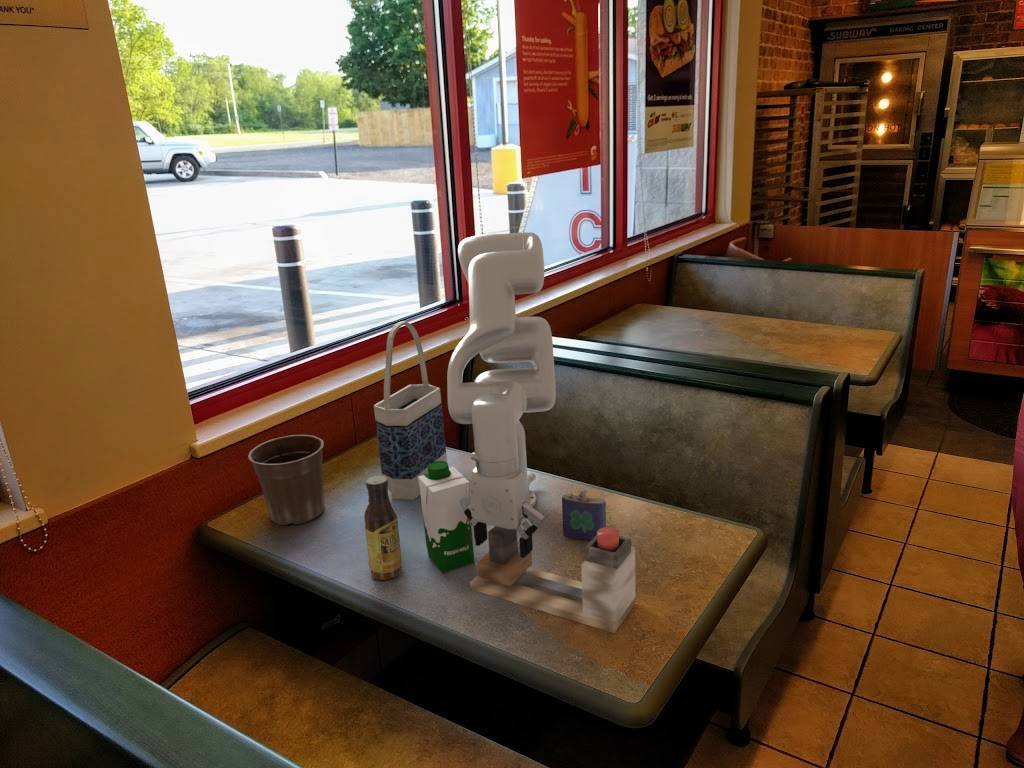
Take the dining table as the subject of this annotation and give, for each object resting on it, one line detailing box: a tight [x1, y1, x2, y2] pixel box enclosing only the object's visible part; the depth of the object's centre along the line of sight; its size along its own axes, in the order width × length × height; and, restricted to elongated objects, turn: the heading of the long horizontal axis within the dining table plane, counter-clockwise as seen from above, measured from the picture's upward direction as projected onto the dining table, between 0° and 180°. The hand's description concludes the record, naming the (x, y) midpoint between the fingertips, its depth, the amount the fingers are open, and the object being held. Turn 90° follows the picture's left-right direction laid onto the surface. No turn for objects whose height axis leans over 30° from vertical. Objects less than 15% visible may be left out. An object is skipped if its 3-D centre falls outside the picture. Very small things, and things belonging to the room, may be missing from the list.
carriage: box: [476, 526, 533, 586], centre depth 141 cm, size 7×8×9 cm
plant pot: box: [248, 434, 326, 526], centre depth 172 cm, size 16×16×16 cm
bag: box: [373, 320, 448, 500], centre depth 179 cm, size 18×9×40 cm, turn 153°
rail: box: [469, 535, 636, 634], centre depth 136 cm, size 29×9×14 cm, turn 59°
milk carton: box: [418, 461, 475, 575], centre depth 148 cm, size 9×9×20 cm
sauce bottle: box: [363, 475, 403, 581], centre depth 146 cm, size 7×6×20 cm
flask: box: [561, 489, 607, 543], centre depth 155 cm, size 9×3×11 cm, turn 68°
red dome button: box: [597, 526, 620, 552], centre depth 128 cm, size 4×4×3 cm
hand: (503, 548), depth 140 cm, fingers open, 9 cm apart
